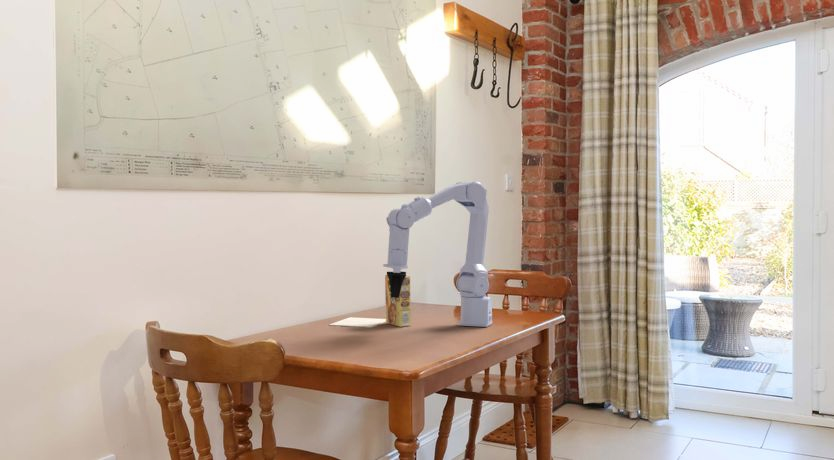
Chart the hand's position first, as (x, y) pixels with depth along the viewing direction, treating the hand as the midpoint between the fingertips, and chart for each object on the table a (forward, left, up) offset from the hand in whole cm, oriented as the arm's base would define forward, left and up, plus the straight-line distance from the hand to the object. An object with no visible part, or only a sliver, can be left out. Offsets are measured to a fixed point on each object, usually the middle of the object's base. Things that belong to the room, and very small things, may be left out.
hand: (394, 296), depth 225 cm
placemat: (+17, -14, -10) cm, 24 cm away
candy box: (+4, -14, -11) cm, 18 cm away
